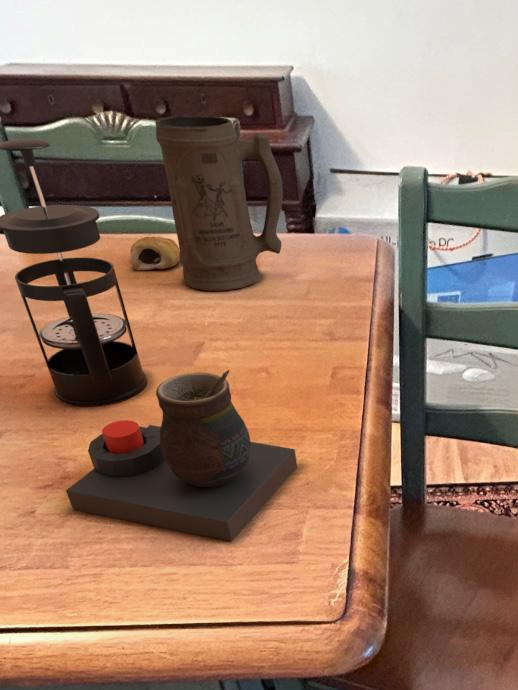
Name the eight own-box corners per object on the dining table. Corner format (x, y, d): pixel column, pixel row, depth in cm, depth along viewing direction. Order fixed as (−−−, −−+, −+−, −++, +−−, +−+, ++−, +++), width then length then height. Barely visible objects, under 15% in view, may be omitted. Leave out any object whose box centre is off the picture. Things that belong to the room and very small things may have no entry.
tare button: (100, 452, 63) (94, 433, 62) (121, 435, 65) (116, 417, 64) (130, 457, 62) (124, 438, 61) (151, 440, 64) (146, 422, 63)
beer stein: (185, 296, 101) (159, 124, 88) (173, 272, 108) (148, 111, 96) (295, 289, 106) (285, 127, 94) (276, 268, 114) (265, 114, 101)
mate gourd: (197, 447, 66) (170, 337, 60) (274, 459, 65) (255, 348, 58) (152, 489, 61) (117, 374, 54) (234, 503, 59) (208, 387, 53)
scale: (63, 507, 62) (48, 471, 60) (146, 441, 71) (136, 407, 68) (231, 541, 59) (223, 504, 56) (297, 467, 67) (292, 432, 65)
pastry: (145, 252, 116) (139, 226, 113) (189, 252, 116) (183, 226, 114) (129, 271, 109) (122, 244, 106) (176, 271, 109) (170, 244, 107)
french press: (49, 376, 81) (-40, 134, 66) (137, 360, 85) (71, 126, 70) (63, 421, 74) (-35, 157, 58) (159, 401, 77) (90, 148, 62)
